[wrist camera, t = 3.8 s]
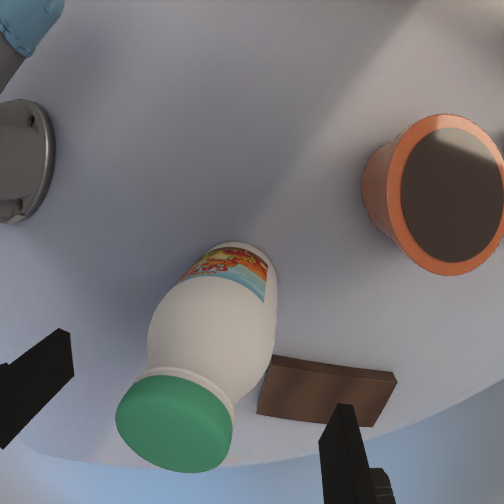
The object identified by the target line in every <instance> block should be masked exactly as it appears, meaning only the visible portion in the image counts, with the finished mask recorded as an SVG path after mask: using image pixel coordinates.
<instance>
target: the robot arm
mask: <svg viewBox="0 0 504 504" xmlns="http://www.w3.org/2000/svg"><path fill="white" fill-rule="evenodd" d="M63 8H64V0H0V94H1V93H2V91H3V90H4V88H5V87H6V85H7V84H8V82H9V81H10V79H11V78H12V76H13V75H14V74H15V72H16V71H17V69H18V68H19V67H20V65H21V64H22V63H23V61H24V60H25V59H26V58H27V57H30V56H31V55H32V54H33V53H34V52H35V48H36V46H37V44H38V43H39V42H40V41H41V39H42V38H43V37H44V36H45V34H46V33H47V32H48V31H49V30H50V28H51V27H52V26H53V25H54V24H55V23H56V21H57V20H58V19H59V17H60V16H61V14H62V11H63ZM54 162H55V136H54V130H53V126H52V122H51V120H50V117H49V115H48V114H47V112H46V111H45V109H44V108H43V107H42V106H40V105H39V104H37V103H35V102H32V101H28V100H23V99H18V100H12V101H8V102H4V103H0V223H12V224H15V223H17V222H18V221H22V220H24V219H26V218H28V217H29V216H31V215H32V214H33V213H34V212H35V211H36V210H37V208H38V207H39V206H40V204H41V202H42V201H43V199H44V197H45V195H46V193H47V190H48V188H49V185H50V181H51V178H52V174H53V169H54ZM73 376H74V368H73V360H72V350H71V340H70V333H69V332H67V331H64V330H62V329H60V328H58V329H57V330H55V331H54V332H53V333H51V334H50V335H48V336H47V337H46V338H44V339H43V340H42V341H40V342H39V343H37V344H36V345H35V346H33V347H32V348H31V349H29V350H28V351H27V352H25V353H24V354H23V355H21V356H20V357H19V358H17V359H16V360H15V361H13V362H12V363H11V364H10V365H9V364H7V363H4V364H1V365H0V447H1V448H2V449H4V448H5V447H6V446H7V445H8V444H9V443H10V442H11V441H12V440H13V438H14V437H15V436H16V435H17V434H18V433H19V432H20V431H21V430H22V429H23V428H24V427H25V426H26V425H27V424H28V423H29V422H30V421H31V419H32V418H33V417H34V416H35V415H36V414H37V413H38V412H39V411H40V410H41V409H42V408H43V407H44V406H45V405H46V404H47V403H48V402H49V401H50V400H51V399H52V398H53V397H54V396H55V395H56V394H57V393H58V392H59V391H60V390H61V389H62V387H63V386H64V385H65V384H66V383H67V382H68V381H69V380H70V379H71V378H72V377H73ZM318 443H319V453H320V463H321V473H322V485H323V497H324V504H396V502H395V498H394V496H393V491H392V488H391V484H390V480H389V477H388V475H387V474H386V473H385V472H384V470H383V469H382V468H369V465H368V460H367V456H366V452H365V448H364V445H363V441H362V437H361V433H360V429H359V425H358V422H357V418H356V414H355V411H354V407H353V405H351V404H341V403H337V405H336V407H335V409H334V412H333V414H332V416H331V418H330V420H329V422H328V424H327V426H326V428H325V430H324V432H323V434H322V436H321V437H320V439H319V441H318Z"/></svg>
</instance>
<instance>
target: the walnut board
mask: <svg viewBox="0 0 504 504" xmlns="http://www.w3.org/2000/svg"><path fill="white" fill-rule="evenodd" d="M396 384H397V380H396V378H395V376H394V374H393V373H392V372H385V371H376V370H367V369H359V368H351V367H344V366H337V365H330V364H324V363H317V362H311V361H305V360H299V359H294V358H288V357H283V356H278V355H273V354H272V356H271V360H270V363H269V365H268V369H267V372H266V376H265V379H264V382H263V386H262V389H261V393H260V396H259V399H258V403H257V411H256V414H259V415H265V416H271V417H277V418H283V419H290V420H297V421H304V422H312V423H321V424H328V422H329V420H330V418H331V416H332V414H333V412H334V409H335V407H336V405H337V403H341V404H351V405H353V407H354V411H355V414H356V418H357V422H358V425H359V427H373V426H374V424H375V423H376V421H377V419H378V417H379V416H380V414H381V412H382V410H383V409H384V407H385V405H386V403H387V401H388V399H389V398H390V396H391V394H392V392H393V390H394V388H395V386H396Z"/></svg>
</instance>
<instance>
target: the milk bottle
mask: <svg viewBox="0 0 504 504" xmlns="http://www.w3.org/2000/svg"><path fill="white" fill-rule="evenodd" d="M276 317H277V278H276V273H275V270H274V267H273V265H272V263H271V262H270V260H269V259H268V258H267V256H266V255H265V254H264V253H262V252H261V251H260V250H259V249H257V248H255V247H253V246H251V245H249V244H245V243H241V242H227V243H222V244H220V245H217V246H215V247H213V248H212V249H210V250H209V251H208V252H206V253H205V254H204V255H203V256H202V257H201V258H200V259H199V260H198V261H197V262H196V263H195V264H194V265H193V266H192V267H191V268H190V269H189V270H188V271H187V272H186V273H185V274H184V275H183V276H182V277H181V278H180V279H179V280H178V281H177V282H176V283H175V284H174V285H173V287H172V288H171V289H170V290H169V291H168V293H167V294H166V295H165V296H164V298H163V299H162V300H161V302H160V303H159V305H158V307H157V308H156V310H155V312H154V314H153V316H152V319H151V322H150V325H149V329H148V335H147V358H148V365H147V370H146V371H145V372H143V373H141V374H140V375H139V376H138V377H137V378H136V380H135V381H134V383H133V385H132V386H131V387H130V389H129V390H128V391H127V392H126V394H125V395H124V397H123V398H122V400H121V402H120V403H119V405H118V408H117V412H116V417H115V420H116V426H117V429H118V431H119V433H120V435H121V437H122V438H123V440H124V441H125V442H126V444H127V445H128V446H129V447H130V448H131V449H132V450H133V451H134V452H135V453H137V454H138V455H139V456H141V457H142V458H143V459H145V460H147V461H148V462H150V463H152V464H154V465H156V466H159V467H161V468H164V469H167V470H171V471H175V472H182V473H198V472H205V471H208V470H211V469H213V468H215V467H217V466H218V465H219V464H221V463H222V461H223V460H224V458H225V457H226V455H227V453H228V451H229V447H230V443H231V438H232V431H233V426H234V423H235V411H234V406H235V405H236V403H237V402H238V401H239V400H240V399H241V398H243V397H244V396H245V395H246V394H248V393H249V392H250V391H251V390H252V389H253V388H254V387H255V386H256V385H257V383H258V382H259V381H260V379H261V378H262V376H263V375H264V373H265V371H266V369H267V367H268V365H269V363H270V360H271V356H272V353H273V349H274V342H275V334H276Z"/></svg>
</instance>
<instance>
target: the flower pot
mask: <svg viewBox="0 0 504 504" xmlns="http://www.w3.org/2000/svg"><path fill="white" fill-rule="evenodd" d="M361 191H362V199H363V204H364V207H365V210H366V212H367V214H368V216H369V218H370V219H371V221H372V222H373V223H374V225H375V226H376V227H377V228H378V229H379V230H380V231H381V232H383V233H384V234H386V235H387V236H389V237H391V238H392V240H393V242H394V243H395V245H396V246H397V247H398V249H399V250H400V251H401V252H402V253H403V254H404V255H405V256H406V257H407V258H408V259H410V260H411V261H413V262H414V263H415V264H417V265H419V266H420V267H422V268H423V269H425V270H427V271H429V272H432V273H435V274H438V275H444V276H455V275H460V274H464V273H467V272H470V271H471V270H473V269H475V268H477V267H478V266H480V265H481V264H482V263H484V262H485V261H486V260H487V259H488V258H489V257H490V256H491V254H492V253H493V252H494V251H495V249H496V248H497V246H498V244H499V243H500V241H501V239H502V237H503V235H504V160H503V158H502V156H501V154H500V152H499V150H498V148H497V147H496V145H495V143H494V142H493V141H492V139H491V138H490V137H489V136H488V135H487V134H486V133H485V131H484V130H482V129H481V128H480V127H479V126H477V125H476V124H475V123H473V122H471V121H470V120H468V119H465V118H463V117H461V116H457V115H453V114H436V115H432V116H429V117H426V118H423V119H421V120H419V121H416V122H414V123H412V124H411V125H409V126H408V127H406V128H405V129H404V130H403V131H402V132H401V133H400V134H399V135H398V136H397V137H396V138H395V140H394V141H391V142H388V143H386V144H384V145H383V146H381V147H380V148H379V149H378V150H377V151H375V152H374V154H373V155H372V156H371V157H370V159H369V161H368V163H367V165H366V167H365V169H364V173H363V177H362V187H361Z"/></svg>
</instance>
